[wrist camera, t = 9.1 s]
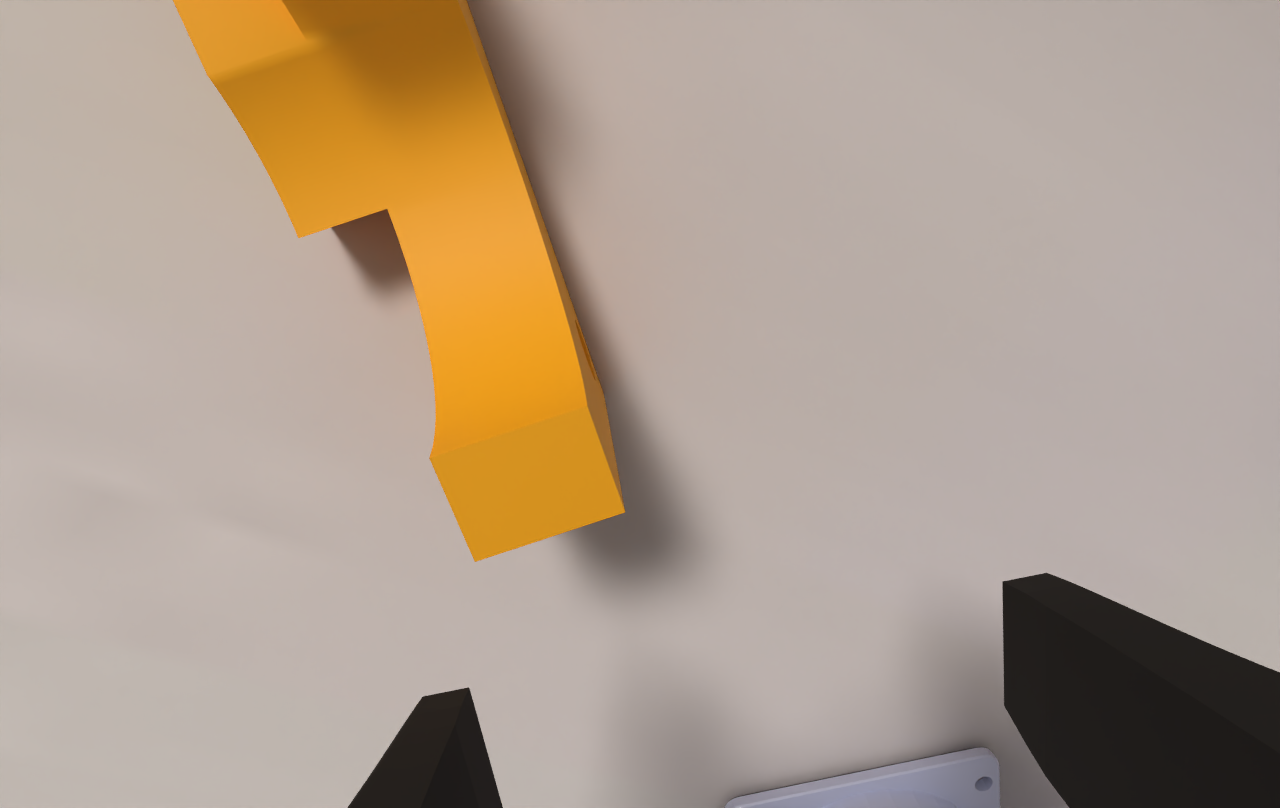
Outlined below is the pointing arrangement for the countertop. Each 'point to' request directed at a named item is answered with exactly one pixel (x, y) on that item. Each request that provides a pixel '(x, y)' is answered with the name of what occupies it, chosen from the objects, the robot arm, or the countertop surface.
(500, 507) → the pipe clamp
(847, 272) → the countertop surface
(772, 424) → the countertop surface
